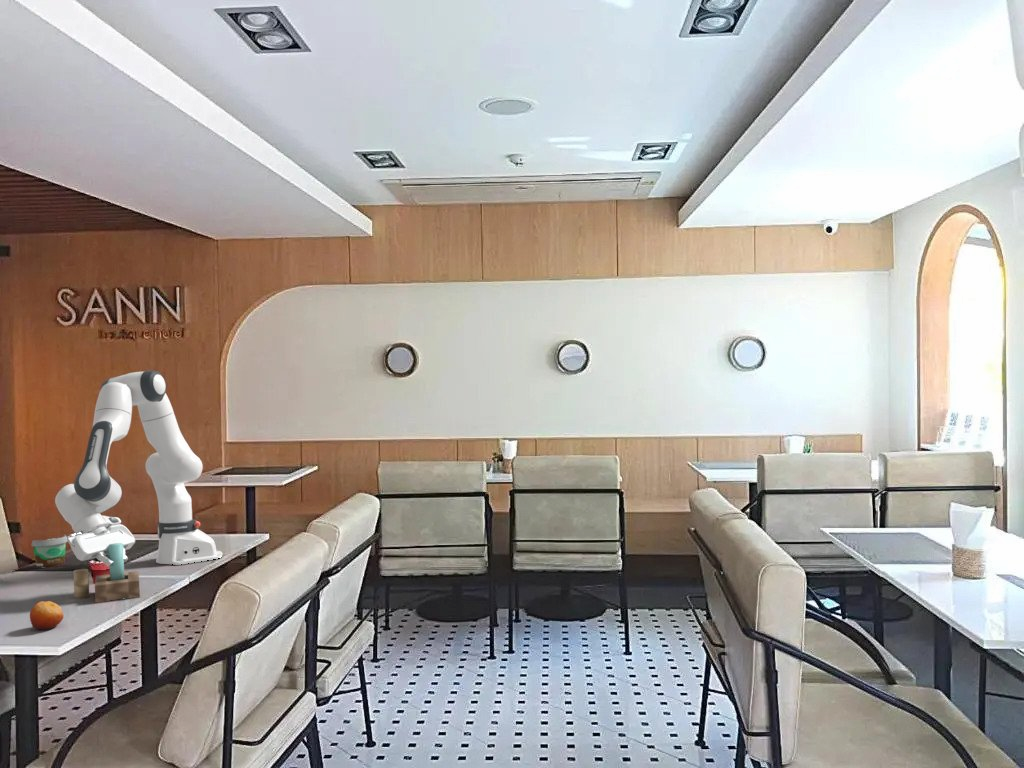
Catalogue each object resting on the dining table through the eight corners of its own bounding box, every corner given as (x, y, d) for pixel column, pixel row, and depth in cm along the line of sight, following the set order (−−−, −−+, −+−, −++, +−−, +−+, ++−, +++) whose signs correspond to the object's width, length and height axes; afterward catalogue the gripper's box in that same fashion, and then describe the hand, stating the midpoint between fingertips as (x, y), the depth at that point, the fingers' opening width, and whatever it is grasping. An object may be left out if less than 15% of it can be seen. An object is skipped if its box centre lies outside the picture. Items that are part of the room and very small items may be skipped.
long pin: (124, 584, 270) (123, 542, 270) (124, 587, 266) (123, 544, 266) (110, 586, 268) (108, 543, 268) (110, 589, 265) (108, 546, 264)
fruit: (30, 619, 237) (45, 593, 238) (57, 632, 238) (72, 607, 238) (16, 628, 229) (32, 601, 230) (44, 642, 230) (59, 615, 230)
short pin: (89, 594, 269) (88, 568, 268) (89, 597, 265) (87, 571, 265) (74, 596, 267) (73, 569, 267) (74, 599, 263) (73, 572, 263)
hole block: (139, 587, 276) (138, 571, 276) (139, 597, 263) (139, 580, 263) (96, 592, 271) (96, 575, 271) (95, 602, 258) (94, 585, 258)
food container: (42, 570, 304) (41, 541, 304) (32, 568, 307) (31, 540, 307) (76, 563, 315) (74, 535, 314) (66, 561, 318) (65, 534, 318)
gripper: (69, 528, 260) (95, 563, 256) (123, 516, 279) (148, 549, 275) (58, 542, 261) (84, 577, 258) (112, 530, 280) (137, 562, 277)
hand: (118, 562), depth 267 cm, fingers closed on long pin, 4 cm apart
